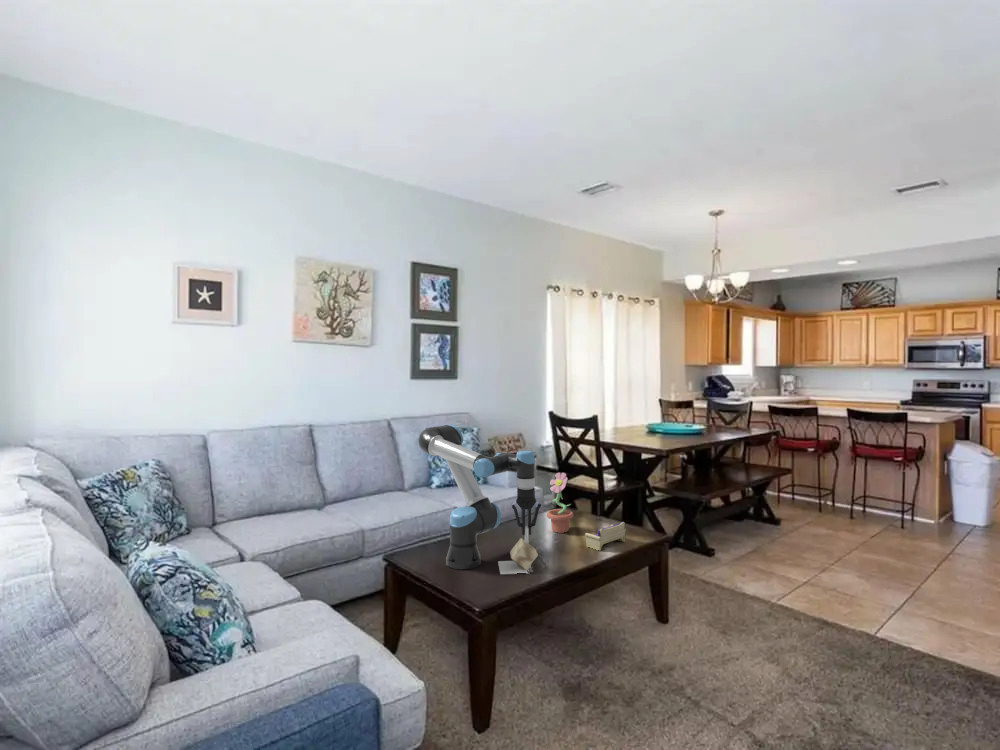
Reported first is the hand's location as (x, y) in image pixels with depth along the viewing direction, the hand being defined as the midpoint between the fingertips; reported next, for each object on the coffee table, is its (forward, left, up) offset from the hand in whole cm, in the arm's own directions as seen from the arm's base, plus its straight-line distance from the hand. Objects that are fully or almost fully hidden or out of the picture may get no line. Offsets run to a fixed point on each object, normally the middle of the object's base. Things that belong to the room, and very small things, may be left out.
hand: (526, 542), depth 239 cm
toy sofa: (+41, +25, -11) cm, 50 cm away
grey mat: (-5, 0, -11) cm, 12 cm away
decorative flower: (+23, +48, -11) cm, 54 cm away
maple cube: (+1, 0, -2) cm, 2 cm away
